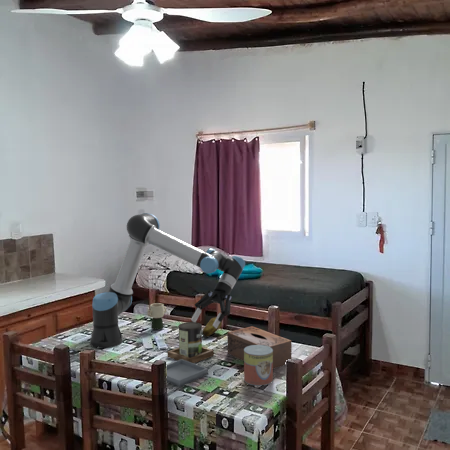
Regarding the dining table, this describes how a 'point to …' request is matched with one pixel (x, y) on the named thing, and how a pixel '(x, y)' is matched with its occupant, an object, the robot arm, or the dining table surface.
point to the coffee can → (190, 339)
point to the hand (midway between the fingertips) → (203, 324)
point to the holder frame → (205, 354)
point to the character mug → (157, 315)
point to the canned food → (258, 365)
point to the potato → (210, 328)
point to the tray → (184, 372)
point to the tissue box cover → (259, 337)
